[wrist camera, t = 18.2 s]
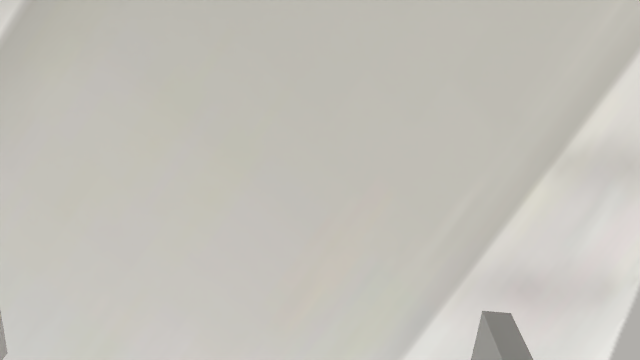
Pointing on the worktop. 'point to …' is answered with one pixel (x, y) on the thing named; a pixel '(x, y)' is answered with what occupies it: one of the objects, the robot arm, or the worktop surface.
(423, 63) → the worktop surface
